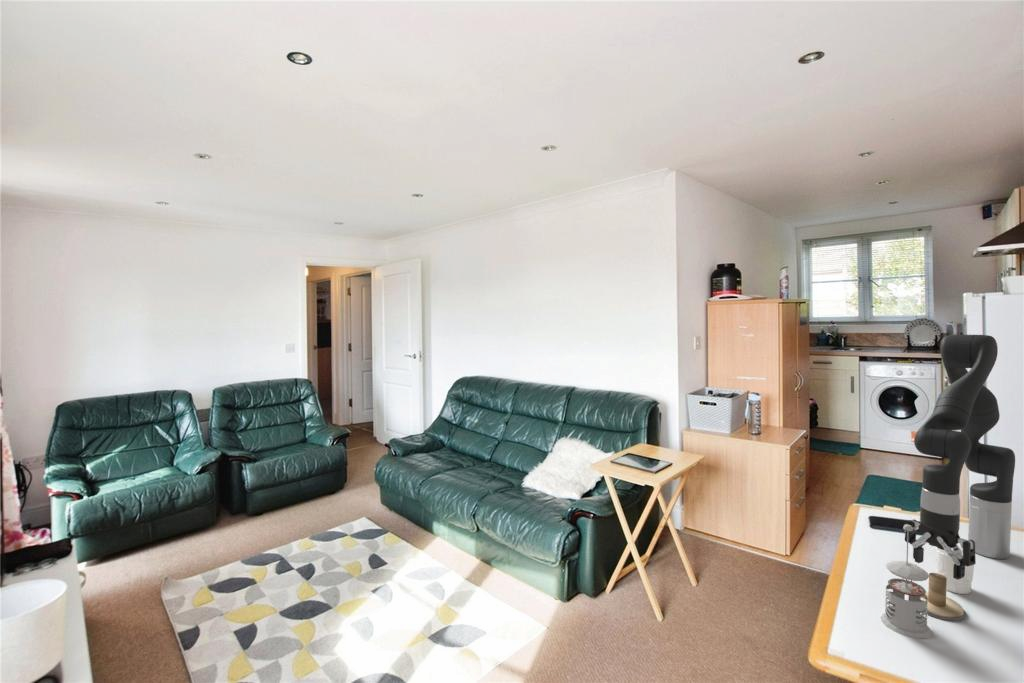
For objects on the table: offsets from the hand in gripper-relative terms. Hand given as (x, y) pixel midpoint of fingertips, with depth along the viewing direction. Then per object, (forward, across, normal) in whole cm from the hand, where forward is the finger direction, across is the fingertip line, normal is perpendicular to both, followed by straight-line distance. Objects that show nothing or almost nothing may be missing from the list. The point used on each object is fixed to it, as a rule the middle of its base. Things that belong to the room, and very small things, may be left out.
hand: (937, 569), depth 125 cm
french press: (+10, -1, +13) cm, 17 cm away
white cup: (+10, +4, -14) cm, 18 cm away
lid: (+10, 0, 0) cm, 10 cm away
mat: (+10, 0, 0) cm, 10 cm away
